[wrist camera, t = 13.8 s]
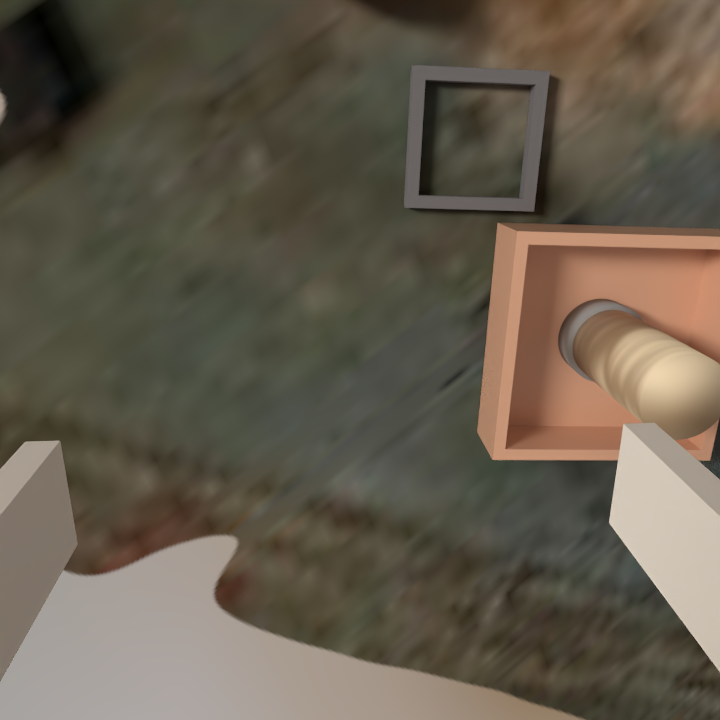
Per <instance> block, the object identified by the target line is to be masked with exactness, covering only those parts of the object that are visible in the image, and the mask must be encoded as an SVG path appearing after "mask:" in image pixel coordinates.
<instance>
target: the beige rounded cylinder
mask: <svg viewBox="0 0 720 720" xmlns="http://www.w3.org/2000/svg"><path fill="white" fill-rule="evenodd" d="M558 346H559V351H560V354H561V356H562V358H563V359H564V361H565V362H566V363H567V364H568V365H569V366H570V367H571V368H572V369H573V370H575V371H576V372H577V373H578V374H579V375H580V376H582V377H583V378H585V379H587V380H589V381H592V382H595V383H596V384H597V385H599V386H600V387H601V388H602V389H603V390H604V391H606V392H607V393H608V394H609V395H610V396H611V397H613V398H614V399H615V400H616V401H617V402H618V403H620V404H621V405H622V406H623V407H624V408H625V409H627V410H628V411H629V412H630V413H631V414H632V415H634V416H635V417H636V418H637V419H638V420H639V421H641V422H642V423H655V424H657V425H658V426H659V427H660V428H661V429H662V430H663V431H665V432H666V433H667V434H668V435H669V436H670V437H671V438H673V439H674V440H682V439H688V438H691V437H694V436H697V435H699V434H701V433H703V432H704V431H706V430H707V429H709V428H710V427H711V426H712V425H713V424H715V422H716V421H717V420H718V419H719V418H720V364H719V363H717V362H716V361H715V360H713V359H711V358H709V357H707V356H706V355H704V354H702V353H700V352H698V351H696V350H695V349H693V348H691V347H689V346H687V345H685V344H684V343H682V342H680V341H678V340H676V339H674V338H673V337H671V336H669V335H667V334H665V333H663V332H662V331H660V330H658V329H656V328H654V327H652V326H651V325H649V324H647V323H645V322H643V320H642V319H641V317H640V316H639V315H638V314H637V313H635V312H634V311H633V310H631V309H629V308H627V307H625V306H623V305H621V304H620V303H618V302H616V301H613V300H609V299H593V300H590V301H586V302H584V303H582V304H580V305H579V306H577V307H576V308H574V309H573V310H572V311H571V312H570V313H569V314H568V316H567V317H566V318H565V320H564V321H563V323H562V325H561V328H560V331H559V336H558Z"/></svg>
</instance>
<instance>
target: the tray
mask: <svg viewBox="0 0 720 720" xmlns="http://www.w3.org/2000/svg"><path fill="white" fill-rule="evenodd" d="M593 299H609V300H613V301H616V302H618V303H620V304H621V305H623V306H625V307H627V308H629V309H631V310H633V311H634V312H635V313H637V314H638V315H639V316H640V317H641V319H642V320H643V322H645V323H647V324H649V325H651V326H652V327H654V328H656V329H658V330H660V331H662V332H663V333H665V334H667V335H669V336H671V337H673V338H674V339H676V340H678V341H680V342H682V343H684V344H685V345H687V346H689V347H691V348H693V349H695V350H696V351H698V352H700V353H702V354H704V355H706V356H707V357H709V358H711V359H713V360H715V361H716V362H717V363H719V364H720V229H707V228H671V227H636V226H600V225H565V224H529V223H498V225H497V235H496V246H495V256H494V266H493V276H492V287H491V297H490V307H489V317H488V328H487V338H486V348H485V358H484V369H483V379H482V389H481V399H480V410H479V420H478V430H477V433H478V434H479V436H480V438H481V440H482V442H483V443H484V445H485V447H486V449H487V451H488V452H489V454H490V456H491V458H492V460H618V458H619V451H620V444H621V437H622V430H623V424H630V423H642V422H641V421H639V420H638V419H637V418H636V417H635V416H634V415H632V414H631V413H630V412H629V411H628V410H627V409H625V408H624V407H623V406H622V405H621V404H620V403H618V402H617V401H616V400H615V399H614V398H613V397H611V396H610V395H609V394H608V393H607V392H606V391H604V390H603V389H602V388H601V387H600V386H599V385H597V384H596V383H595V382H592V381H589V380H587V379H585V378H583V377H582V376H580V375H579V374H578V373H577V372H576V371H575V370H573V369H572V368H571V367H570V366H569V365H568V364H567V363H566V362H565V361H564V359H563V358H562V356H561V354H560V351H559V346H558V336H559V331H560V328H561V325H562V323H563V321H564V320H565V318H566V317H567V316H568V314H569V313H570V312H571V311H572V310H573V309H574V308H576V307H577V306H579V305H580V304H582V303H584V302H586V301H590V300H593ZM718 422H719V419H718V420H717V421H716V422H715V424H713V425H712V426H711V427H710V428H709V429H707V430H706V431H704V432H703V433H701V434H699V435H697V436H694V437H691V438H688V439H682V440H675V441H676V442H677V443H678V444H679V445H681V446H682V447H683V448H684V449H685V450H686V451H688V452H689V453H690V454H691V455H692V456H693V457H694V458H696V459H697V460H705V461H710V459H711V454H712V450H713V445H714V441H715V436H716V431H717V427H718Z"/></svg>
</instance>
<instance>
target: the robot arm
mask: <svg viewBox="0 0 720 720" xmlns="http://www.w3.org/2000/svg"><path fill="white" fill-rule="evenodd" d="M609 523H610V525H611V526H612V527H613V529H614V530H615V532H616V533H617V534H618V536H619V537H620V538H621V540H622V541H623V542H624V544H625V545H626V546H627V548H628V549H629V550H630V552H631V553H632V554H633V556H634V557H635V558H636V560H637V561H638V562H639V564H640V565H641V566H642V568H643V569H644V571H645V572H646V573H647V575H648V576H649V577H650V579H651V580H652V581H653V583H654V584H655V585H656V587H657V588H658V589H659V591H660V592H661V593H662V595H663V596H664V597H665V599H666V600H667V601H668V603H669V604H670V606H671V607H672V608H673V610H674V611H675V612H676V614H677V615H678V616H679V618H680V619H681V620H682V622H683V623H684V624H685V626H686V627H687V628H688V630H689V631H690V632H691V634H692V635H693V636H694V638H695V639H696V640H697V642H698V643H699V644H700V646H701V647H702V649H703V650H704V651H705V653H706V654H707V655H708V657H709V658H710V659H711V661H712V662H713V663H714V665H715V666H716V667H717V669H718V670H719V671H720V479H718V478H717V477H716V476H715V475H714V474H713V473H712V472H710V471H709V470H708V469H707V468H706V467H705V466H704V465H702V464H701V463H700V462H699V461H698V460H697V459H696V458H694V457H693V456H692V455H691V454H690V453H689V452H688V451H686V450H685V449H684V448H683V447H682V446H681V445H679V444H678V443H677V442H676V441H675V440H674V439H673V438H671V437H670V436H669V435H668V434H667V433H666V432H665V431H663V430H662V429H661V428H660V427H659V426H658V425H657V424H655V423H630V424H623V430H622V437H621V444H620V451H619V458H618V465H617V472H616V479H615V485H614V492H613V499H612V506H611V513H610V520H609ZM77 544H78V543H77V537H76V532H75V526H74V520H73V514H72V508H71V502H70V496H69V490H68V485H67V479H66V473H65V467H64V461H63V455H62V449H61V443H60V441H35V442H25V443H24V444H23V445H22V446H21V447H20V448H19V449H18V450H17V451H16V453H15V454H14V455H13V456H12V457H11V458H10V459H9V460H8V461H7V462H6V464H5V465H4V466H3V467H2V468H1V469H0V681H1V679H2V677H3V675H4V674H5V672H6V670H7V668H8V667H9V665H10V663H11V661H12V659H13V658H14V656H15V654H16V653H17V651H18V649H19V647H20V645H21V644H22V642H23V640H24V638H25V636H26V635H27V633H28V631H29V629H30V628H31V625H32V624H33V622H34V620H35V619H36V617H37V615H38V613H39V612H40V610H41V608H42V606H43V604H44V603H45V601H46V599H47V597H48V596H49V594H50V592H51V590H52V588H53V587H54V585H55V583H56V581H57V580H58V578H59V576H60V574H61V573H62V571H63V569H64V567H65V566H66V564H67V562H68V560H69V558H70V557H71V555H72V553H73V551H74V550H75V548H76V546H77Z"/></svg>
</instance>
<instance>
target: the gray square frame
mask: <svg viewBox="0 0 720 720" xmlns="http://www.w3.org/2000/svg"><path fill="white" fill-rule="evenodd" d="M549 75H550V71H534V70H511V69H489V68H466V67H444V66H421V65H413V66H412V67H411V82H410V100H409V119H408V138H407V156H406V175H405V194H404V207H405V208H432V209H466V210H500V211H534V207H535V198H536V189H537V181H538V172H539V163H540V154H541V145H542V137H543V128H544V119H545V110H546V101H547V93H548V84H549ZM425 81H431V82H454V83H478V84H501V85H524V86H531V91H530V100H529V110H528V119H527V128H526V138H525V147H524V157H523V166H522V175H521V185H520V194H519V198H515V197H483V196H451V195H419V180H420V163H421V146H422V130H423V113H424V96H425Z"/></svg>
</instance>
